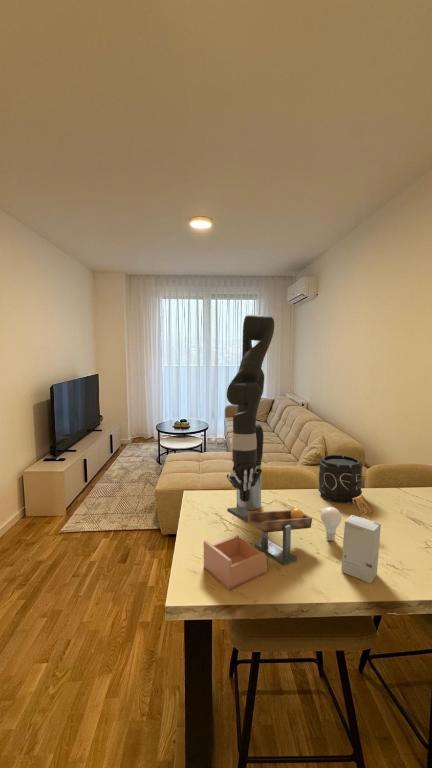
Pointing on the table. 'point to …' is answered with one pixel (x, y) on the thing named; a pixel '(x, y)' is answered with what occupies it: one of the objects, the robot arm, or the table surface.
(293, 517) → the ball
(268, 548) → the lever stand
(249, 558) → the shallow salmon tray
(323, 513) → the lightbulb
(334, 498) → the chalkboard pot
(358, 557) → the skincare box
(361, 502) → the figurine
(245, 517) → the lever trough
